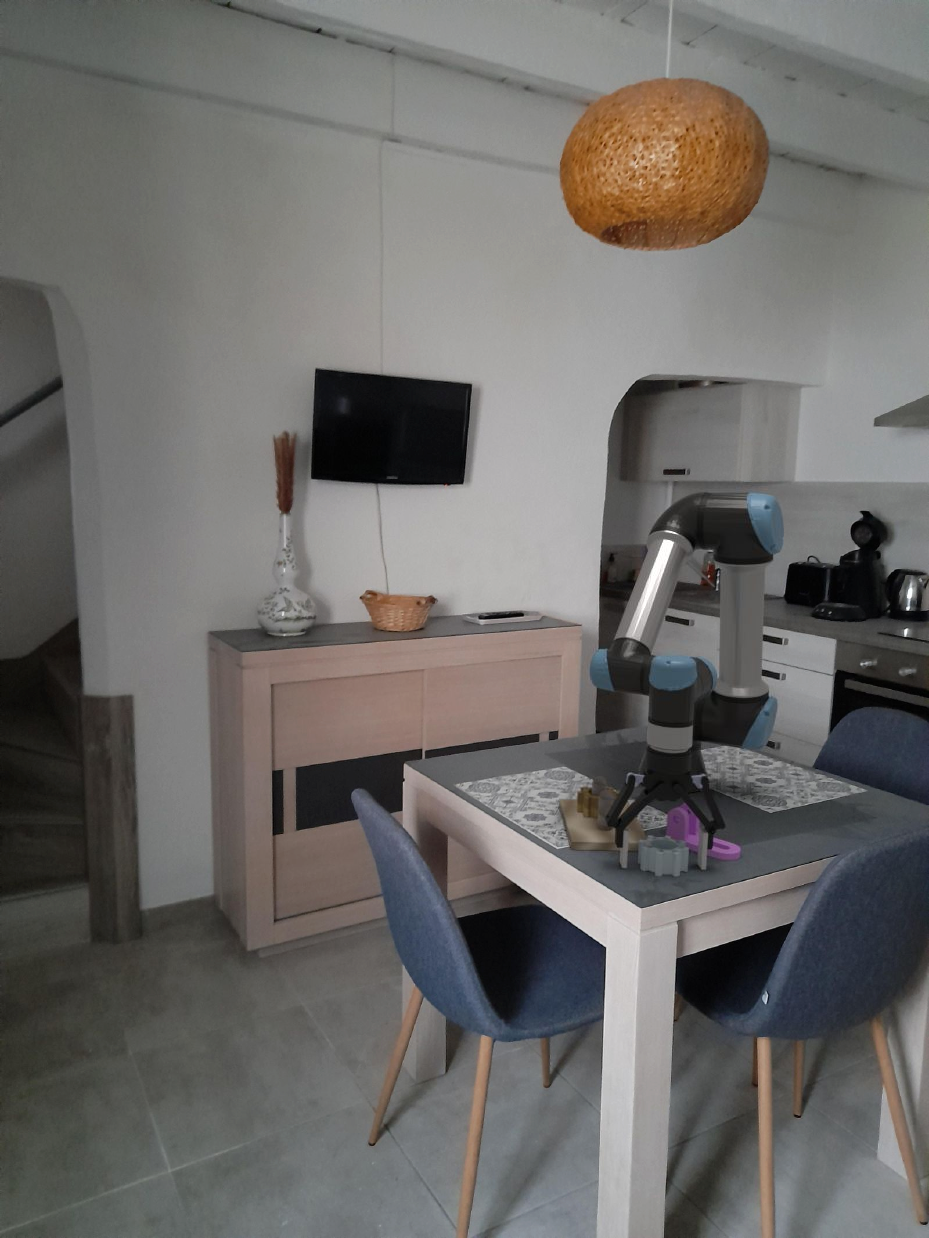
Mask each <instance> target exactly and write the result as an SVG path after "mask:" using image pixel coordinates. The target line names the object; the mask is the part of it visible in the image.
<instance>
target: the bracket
mask: <svg viewBox="0 0 929 1238" xmlns="http://www.w3.org/2000/svg"><path fill="white" fill-rule="evenodd" d="M688 811H689V812H690V814H689V812H688ZM700 823H701V822H700V820H699V819H698V818H697V817H696V815H695V814H694V813H693V812H692V810H691V809H690V808H689V807H688V805H687V804H686V803H685V802H684V803H682V804H681V805H680V806H679V807H674V808H673V809H671V810H669V811H668V812H667V816H666V827H665V828H666V830H665V831H666V833H665V835H666V836H671V839H674V840H677V841H680V840H683V841H685V842H686V847H689V851H692V852H696V853H698V845H699V829H700ZM741 850H742V849H741V847H740V846H739V845H737V844H735V843H733V842H729V841H727V840H723V839H720V838H716V837H713V848H712V850H709V849H707V856H708V857H710V858H711V857H712V858H713V859H714V858H715V859H717V860H722V861H735V860H738V859H740V858H741Z"/></svg>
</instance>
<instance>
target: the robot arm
mask: <svg viewBox="0 0 929 1238" xmlns="http://www.w3.org/2000/svg"><path fill="white" fill-rule="evenodd" d="M784 525H785V524H784V517H783V511H782V508H781V506H780V502H779V501H778V500H777V498H776V497H775V496H774V495H771V494H767V493H766V494H764V493H756V492H708V491H704V492H703V491H702V492H701V491H700V492H694V493H690V494H688V495H686V496H684V497H682V498H680V499H678V500H677V501H675V502H674V503H672V504H671V505H670V506H669V507H668V508H667V509H666V510H664V511H663V513H661V515H660V516H659V517H658V518H657V520H655V522H654V524H653V526H652V527H651V529H650V531H649V534H648V537H647V538H646V541H645V542H646V543H645V545H646V549H647V552H646V555H645V557H644V560H643V563H642V565H641V569H640V570H639V573H638V575H637V578H636V581H635V585H634V587H633V590H632V591H631V594H630V597H629V599H628V603H627V604H626V606H625V607H626V608H625V610H624V612H623V615H622V617H621V620H620V622H619V625H618V628H617V631H616V632H615V635H614V638H613V642H612V644H611V646H610V648H609V649H608V648H600V649H596V652H594V654H592V656H591V658H590V659H591V660H590V664H589V678H590V680H591V683H592V684H593V686H594V687H596V688H597V689H600V690H606V691H610V692H613V693H616V692H618V693H625V694H633V695H641V696H647V697H648V712H647V713H648V714H647V728H646V729H647V731H646V732H647V733H646V743H647V746H646V749H645V751H644V754H643V756H642V759H641V761H640V764H639V767H638V770H637V771H638V772H637V773H634V772H633V771H631V770H629V771H627V772H626V774H625V779H624V784H623V786H622V787H621V789H620V790H619V791H618V792H619V794H618V796H617V798H616V799H615V801H614V803H613V805H612V806H611V808H610V810H609V812H608V813H607V815H606V817H605V821H606V823H607V825H608V826H609V827H613V828H615V844H616V846H617V848H620V851H619V864H620V865H621V869H627V868H628V852H629V851H628V834H629V832H628V830H627V828H626V827H627V826H628V825H629V824H630V823H631V822H632V820H633V819H634V818H635V817H636V818H637V816H639V814H641V812H642V811H643V810H644V809H645V808H646V807H647V806H648V805H649V804H652V802H653V801H654V800H656V801H658V802H665V801H669V802H677V801H679V800H680V799H681V800H683V802H684V803H686V804H687V805H688V807H689V808H690V809H691V810H692V812H693V813H694V814H695V815H696V817H697V818H698V819H699V820H700V823H701V824H702V825H703V827H699V845H698V852H697V865H698V866H699V868H700V870H702V871H703V870H704V871H706V869H707V849H709V850H712V848H713V838H715V837H714V836H715V834H717V831H718V830H724V829H725V828H726V827H727V825H726V823H725V820H724V819H723V816H722V814H721V811H720V809H719V807H718V805H717V803H716V800H715V799H714V796H713V795H712V792H711V789H710V779H709V777H708V776H709V775H708V772H707V771H708V770H707V769H706V763H705V760H704V757H703V754H702V753H703V752H702V743H708V744H714V745H719V746H726V747H732V748H736V749H740V750H751V751H759V750H762V749H764V748H765V747H766V746H767V745H768V743H769V741H770V738H771V735H772V733H773V729H774V725H775V721H776V717H777V714H778V713H777V712H778V699H777V697H774V696H772V695H769V694H770V687H769V685H768V683H766V682H765V681H764V680H763V678H762V674H763V648H764V647H763V646H764V645H763V644H764V643H763V642H764V617H765V616H764V614H765V613H764V611H765V608H764V607H765V585H766V584H765V583H766V582H765V581H766V568H767V567H769V565H771V564H772V563H773V561H774V555H776V554H779V553H781V551H782V549H783V547H784V536H785V528H784V527H785V526H784ZM696 550H703V551H712V552H713V553H712V555H713V558H712V560H713V562H714V563H715V564H716V565H717V567H719V568H720V594H719V597H720V599H719V600H720V601H719V608H720V609H719V656H718V659H719V661H718V664H719V665H718V672H717V669H716V667H715V665H714V664H713V663H712V662H711V661H710V660H709V659H708V658H705V657H702V656H687V655H682V654H681V655H680V654H660V655H659V654H658V655H655V654H652V652H653V651H654V647H655V646H656V645H655V644H656V642H657V638H658V636H659V634H660V631H661V628H662V625H663V623H664V619H665V616H666V614H667V611H668V608H669V606H670V604H671V601H672V598H673V594H674V592H675V589H676V586H677V584H678V582H679V581H678V580H679V578H680V575H681V572H682V570H683V567H684V565H685V563H686V562H688V561H690V560H691V558H692V557H693V555H694V551H696ZM639 784H642V785H643V786H645V787H644V789H642V790H641V792H640V794H639V795H638V797H636V799H635V800H634V801H633V802H632V803H631V804H630V806H629V807H628V808H627V809H626V810H625V811H624V812H623V813H622V814H621V812H622V810H623V808H624V807H625V805H626V803H627V801H628V802H629V800H630V798H631V796H632V794H633V792H634V790H635V788H636V787H638V786H639ZM699 791H700V792H701V794H702V797H703V800H704V801H705V803H706V805H707V808H708V809H709V813H710V814H711V817H712V819H713V820H709V818H708V817H707V815H705V813H704V812H703V811H702V810H701V809H700V807H699V806H698V805H697V804H696V803H695V801H694V800H693V799H692V798H691V796H690V795H689V793H695V792H699ZM620 814H621V816H620V817H619V815H620ZM618 817H619V818H618Z"/></svg>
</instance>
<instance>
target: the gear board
mask: <svg viewBox="0 0 929 1238" xmlns="http://www.w3.org/2000/svg"><path fill="white" fill-rule="evenodd" d="M591 785H592V786H591V787H586V786H582V787H580V790H578V791H577V794H576V795H577V798H576V799H572V798H571V799H570V798H569V799H568V798H566V799H565V798H563V799H562V798H561V799H560V798H559V801H558V802H559V803H558V807H559V810H560V815H561V817H562V818H561V819H562V822H563V823H564V828H565V831H566V835H567V838H568V841H569V845H570V848H571V850H572V851H574V850H575V851H619V852H620V848H617V846H616V844H615V828H613V827H609V826H608V825H607V823H606V821H605V817H606V815H607V813H608V812H609V810H610V808H611V806H612V805H613V803H614V801H615V799H616V798H617V796H618V794H619V792H620V791H615V788H614V787H610V786H609V787H608V783H607V779H606V778H605V777H604V776H602V775H598V776H596V777H594V778H593V780H592V784H591ZM630 805H631V804H630V802H629V800H628V801H627V803H626V805H625V807H624V808H623V810H622V812H621V814H622V813H623V812H624V811H625V810H626V809H627V808H628V807H629V806H630ZM621 814H620V815H619V817H620V816H621ZM619 817H618V818H619ZM626 828H627V830H628V832H629V834H628V852H629V851H630V852H638V851H639V840H640V839H641V840H647V835H646V834H645V831H644V829H643V828H642V825H641V823H640V822H639V820H638V818H637V816H636V817H635V818H634V819H633V820H632V822H631V823H630V824H629V825H628V826H627V827H626Z"/></svg>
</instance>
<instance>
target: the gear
mask: <svg viewBox="0 0 929 1238" xmlns="http://www.w3.org/2000/svg"><path fill="white" fill-rule="evenodd" d="M646 837H647V840H641V839H640V840H639V851H637V853H638V854H637V855H638V857H637V864H638V865H639V864H640V870H641V871H642V872H646V871H649V872H652V873H654V876H656V877H662V876H663V875H671V876H673V877H675V878H676V877H681V872H686V873H687V872H688V871H689V858H690V857H689V855H690V853H689V852H690V850H689V847H686V842H685V841H683V840H680V841H677V840H674V839H671V836H666V834H665V835H664V836H663V837H661V836H654V835H646Z"/></svg>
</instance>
